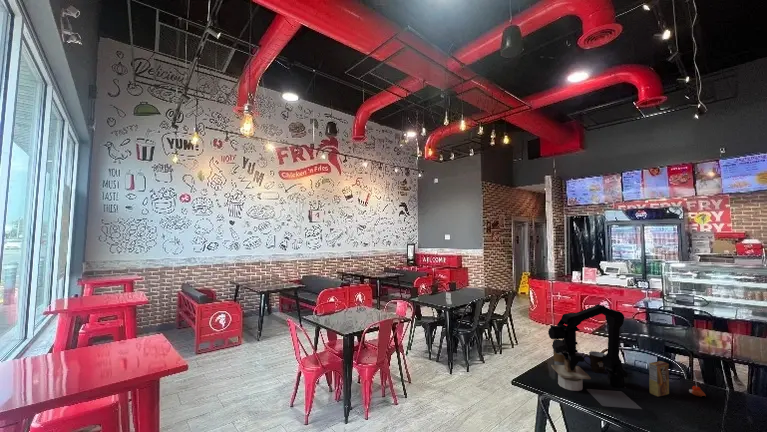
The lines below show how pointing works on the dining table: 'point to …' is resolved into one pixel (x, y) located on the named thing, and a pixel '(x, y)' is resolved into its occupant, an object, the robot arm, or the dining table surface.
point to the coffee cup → (558, 355)
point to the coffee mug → (596, 361)
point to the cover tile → (571, 375)
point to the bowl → (570, 383)
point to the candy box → (659, 378)
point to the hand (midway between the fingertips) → (570, 368)
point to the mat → (613, 398)
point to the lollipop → (696, 389)
